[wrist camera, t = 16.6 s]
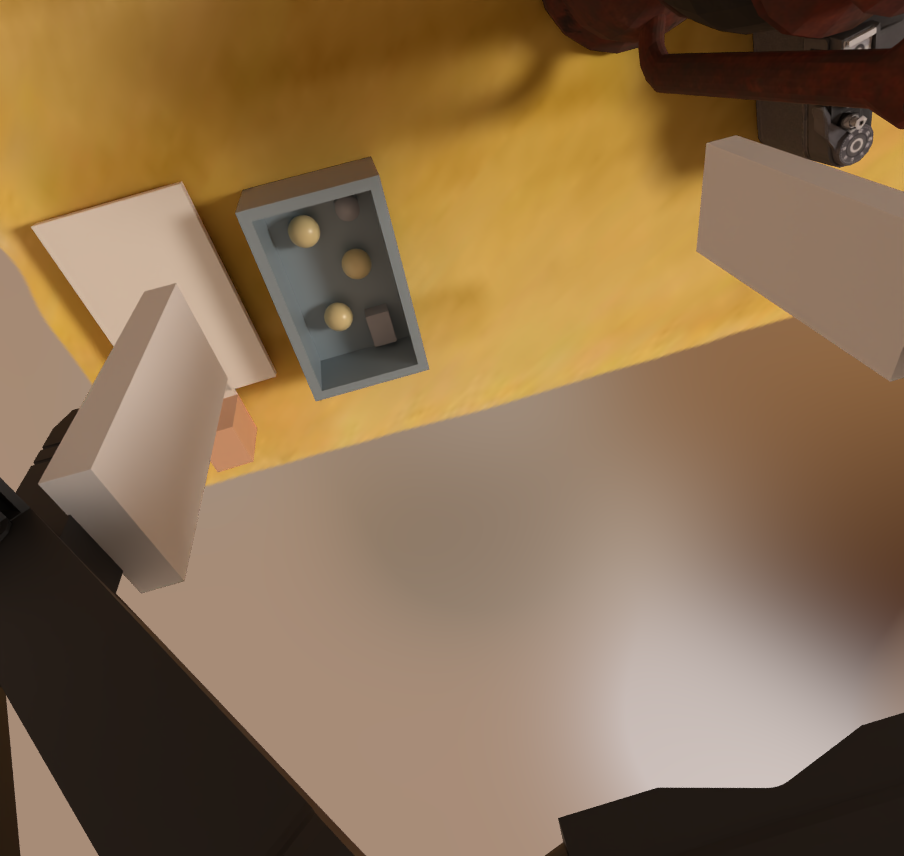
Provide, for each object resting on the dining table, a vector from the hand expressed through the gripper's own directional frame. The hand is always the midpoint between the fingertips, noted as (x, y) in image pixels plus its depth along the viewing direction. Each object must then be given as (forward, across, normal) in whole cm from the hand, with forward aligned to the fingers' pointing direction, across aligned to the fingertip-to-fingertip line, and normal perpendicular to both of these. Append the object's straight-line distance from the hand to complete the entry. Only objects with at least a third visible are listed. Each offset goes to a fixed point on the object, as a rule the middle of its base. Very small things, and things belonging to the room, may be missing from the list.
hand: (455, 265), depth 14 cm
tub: (+33, -6, -12) cm, 36 cm away
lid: (+33, -19, -14) cm, 41 cm away
